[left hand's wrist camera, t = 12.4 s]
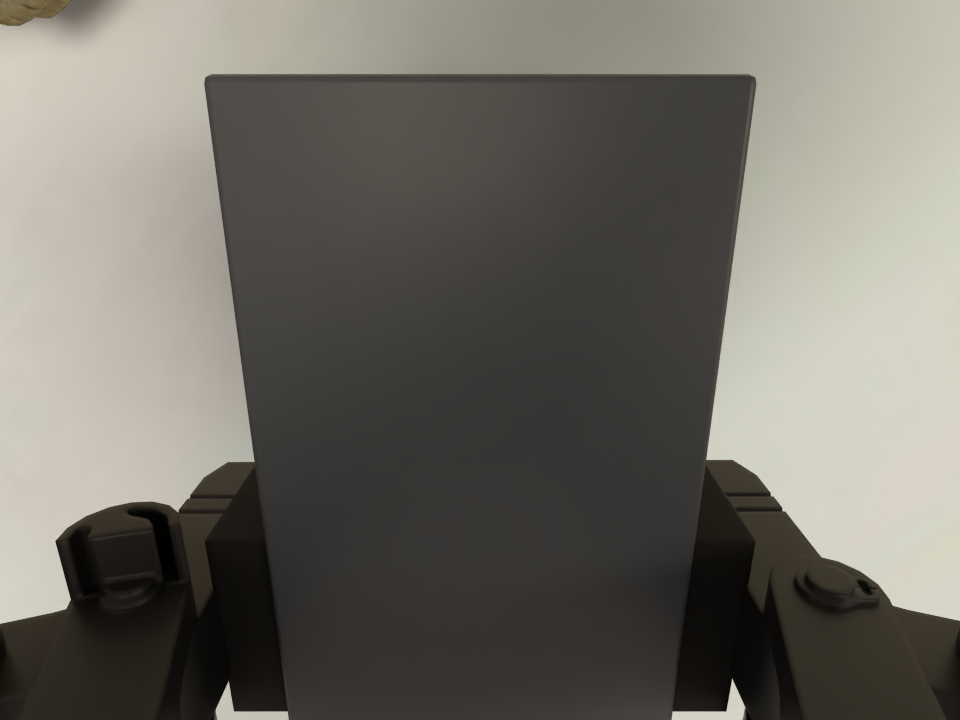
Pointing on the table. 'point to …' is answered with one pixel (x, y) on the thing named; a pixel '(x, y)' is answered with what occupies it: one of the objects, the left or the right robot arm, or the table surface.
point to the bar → (480, 377)
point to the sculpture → (28, 10)
